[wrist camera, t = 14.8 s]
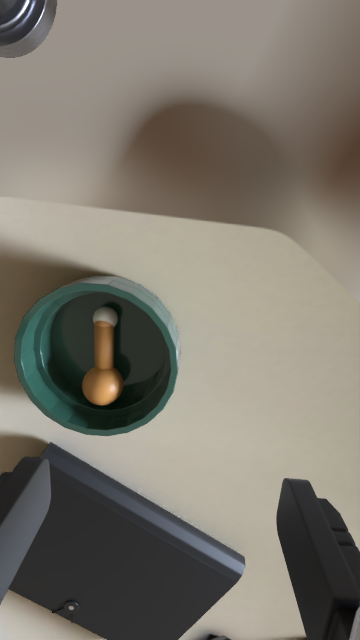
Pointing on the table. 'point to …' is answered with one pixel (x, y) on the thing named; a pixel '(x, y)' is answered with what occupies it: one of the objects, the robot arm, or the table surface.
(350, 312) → the table surface
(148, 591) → the file folder
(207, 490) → the table surface
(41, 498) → the robot arm
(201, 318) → the table surface
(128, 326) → the shallow green bowl
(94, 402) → the drumstick
